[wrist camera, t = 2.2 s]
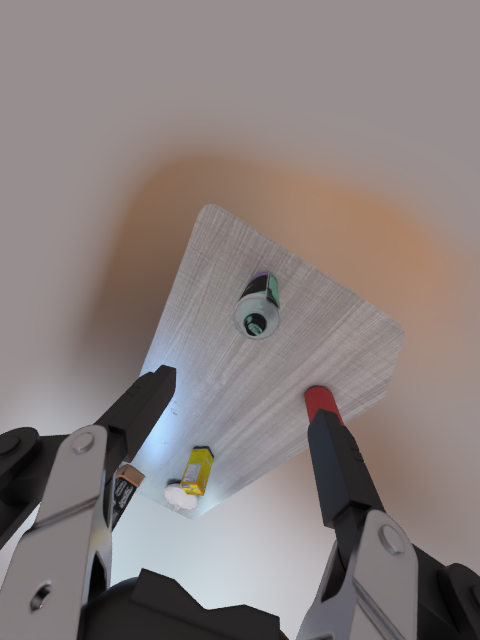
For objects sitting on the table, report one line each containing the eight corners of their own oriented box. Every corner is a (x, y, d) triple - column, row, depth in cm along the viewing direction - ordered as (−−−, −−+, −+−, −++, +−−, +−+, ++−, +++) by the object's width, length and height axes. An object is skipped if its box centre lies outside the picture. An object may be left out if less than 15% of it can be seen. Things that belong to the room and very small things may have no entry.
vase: (162, 487, 80) (153, 508, 74) (173, 473, 73) (163, 495, 67) (193, 502, 81) (186, 524, 75) (206, 490, 74) (200, 513, 68)
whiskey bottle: (128, 463, 76) (41, 598, 48) (145, 476, 78) (72, 612, 50) (117, 469, 80) (30, 596, 52) (134, 480, 82) (59, 609, 54)
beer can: (317, 380, 43) (332, 427, 32) (338, 394, 43) (359, 445, 32) (298, 395, 45) (306, 443, 35) (318, 408, 46) (332, 459, 35)
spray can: (254, 267, 34) (235, 295, 16) (281, 275, 34) (291, 314, 16) (246, 293, 37) (221, 342, 19) (271, 301, 37) (270, 359, 19)
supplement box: (200, 456, 65) (187, 495, 55) (193, 446, 63) (178, 484, 53) (214, 456, 63) (203, 496, 53) (208, 446, 61) (196, 485, 51)
